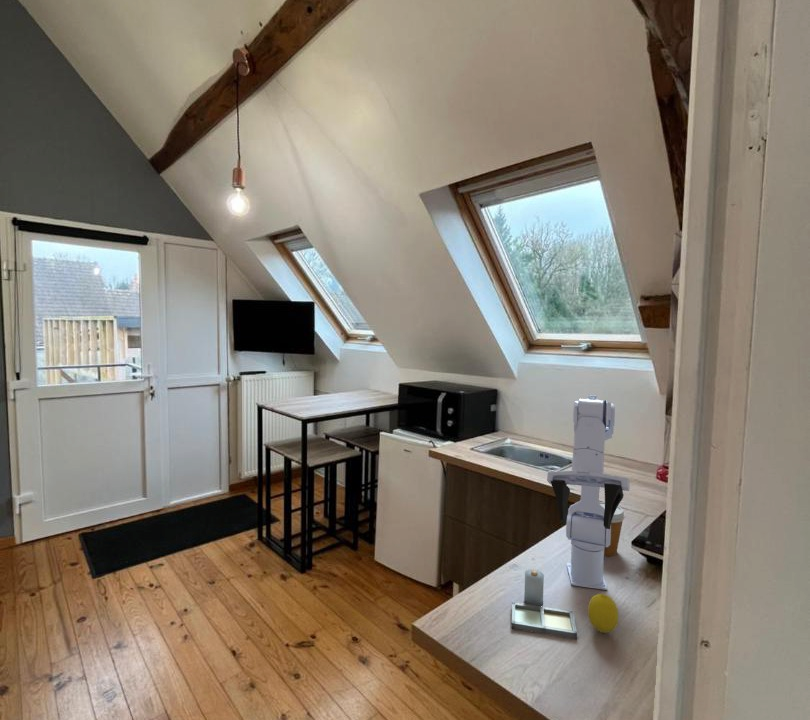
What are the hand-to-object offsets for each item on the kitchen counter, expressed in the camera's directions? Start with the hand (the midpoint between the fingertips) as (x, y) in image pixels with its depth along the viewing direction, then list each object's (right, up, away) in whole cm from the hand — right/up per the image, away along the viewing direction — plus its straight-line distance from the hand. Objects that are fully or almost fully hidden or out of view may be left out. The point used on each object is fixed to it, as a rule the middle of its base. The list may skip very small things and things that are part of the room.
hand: (584, 524), depth 80 cm
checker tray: (-4, -24, +11) cm, 27 cm away
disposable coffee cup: (+22, -23, +40) cm, 51 cm away
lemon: (+7, -25, +8) cm, 27 cm away
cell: (-4, -24, +17) cm, 30 cm away
